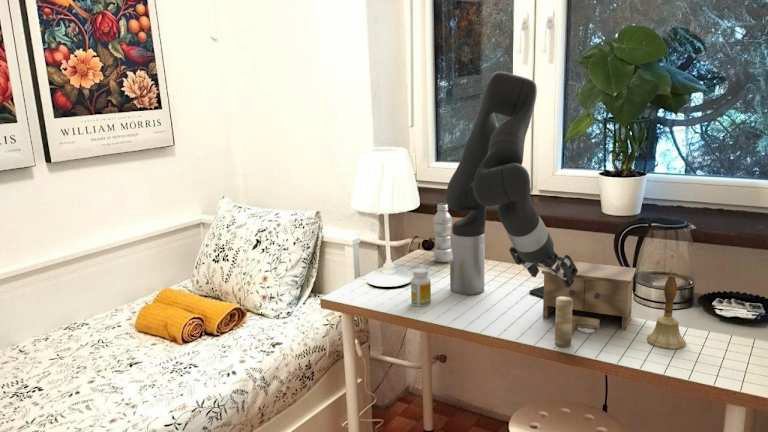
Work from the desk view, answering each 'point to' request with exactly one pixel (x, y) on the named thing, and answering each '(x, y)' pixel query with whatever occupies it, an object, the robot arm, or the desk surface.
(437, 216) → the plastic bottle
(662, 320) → the hand bell
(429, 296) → the supplement bottle
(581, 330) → the token
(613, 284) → the cabinet
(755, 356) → the desk surface
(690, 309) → the desk surface
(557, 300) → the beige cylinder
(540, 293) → the phone
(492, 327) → the desk surface
